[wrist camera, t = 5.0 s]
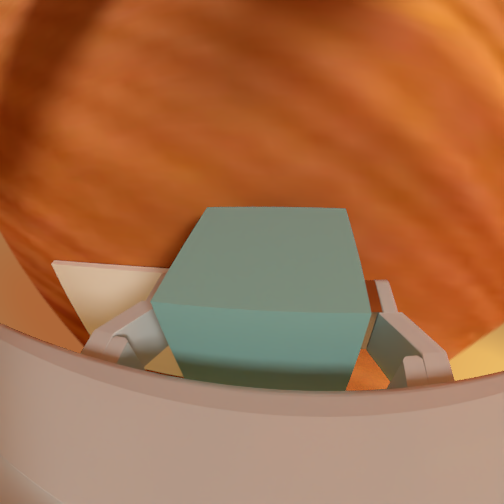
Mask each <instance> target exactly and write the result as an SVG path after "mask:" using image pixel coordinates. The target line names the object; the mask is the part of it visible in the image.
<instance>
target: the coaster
mask: <svg viewBox="0 0 504 504" xmlns="http://www.w3.org/2000/svg"><path fill="white" fill-rule="evenodd" d="M51 264H52V266H53V268H54V271H55V273H56V275H57V277H58V279H59V281H60V283H61V285H62V287H63V289H64V291H65V293H66V294H67V296H68V298H69V300H70V302H71V304H72V306H73V307H74V309H75V311H76V313H77V314H78V316H79V318H80V320H81V321H82V323H83V325H84V326H85V328H86V330H87V331H88V333H89V335H90V336H91V335H92V333H93V332H94V330H95V329H97V328H99V327H100V326H102V325H103V324H105V323H107V322H108V321H110V320H111V319H113V318H115V317H116V316H118V315H119V314H121V313H123V312H124V311H126V310H127V309H129V308H131V307H132V306H134V305H136V304H137V303H139V302H140V301H146V299H147V297H148V296H149V294H150V292H151V291H152V289H153V287H154V286H155V284H156V282H157V281H158V279H159V277H160V276H161V274H163V273H167V272H168V270H169V268H155V267H139V266H124V265H110V264H96V263H83V262H71V261H59V260H54V261H53V262H52V263H51ZM144 369H147V370H151V371H156V372H161V373H165V374H170V375H175V376H181V377H184V376H183V374H182V372H181V370H180V368H179V366H178V364H177V362H176V360H175V358H174V355H173V353H172V351H171V349H170V347H169V345H168V346H167V347H166V348H165V349H164V350H163V351H162V352H161V353H159V354H158V355H157V356H156V357H155V358H154V359H153V360H152V361H150V362H149V363H148V364H147V365H146V366H145V367H144Z"/></svg>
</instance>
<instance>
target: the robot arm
mask: <svg viewBox="0 0 504 504" xmlns="http://www.w3.org/2000/svg"><path fill="white" fill-rule="evenodd" d="M165 275H166V273H163V274H161V276H160V277H159V279H158V281H157V282H156V284H155V286H154V287H153V289H152V291H151V292H150V294H149V296H148V297H147V299H146V301H140V302H139V303H137V304H136V305H134V306H132V307H131V308H129V309H127V310H126V311H124V312H123V313H121V314H119V315H118V316H116V317H115V318H113V319H111V320H110V321H108V322H107V323H105V324H103V325H102V326H100V327H99V328H97V329H95V330H94V332H93V333H92V335H91V336H90V338H89V340H88V341H87V343H86V345H85V346H84V348H83V350H82V351H81V353H77V352H74V351H71V350H68V349H65V348H62V347H59V346H56V345H53V344H51V343H48V342H45V341H42V340H40V339H37V338H34V337H32V336H30V335H27V334H24V333H22V332H20V331H17V330H15V329H12V328H10V327H8V326H6V325H4V324H1V323H0V504H504V371H501V372H497V373H493V374H488V375H484V376H479V377H474V378H469V379H464V380H458V381H454V377H453V374H452V370H451V367H450V363H449V360H448V356H447V353H446V351H445V350H443V349H442V348H441V347H440V346H439V345H438V344H437V343H436V342H435V341H434V340H432V339H431V338H430V337H429V336H428V335H427V334H426V333H425V332H424V331H422V330H421V329H420V328H419V327H418V326H417V325H416V324H415V323H413V322H412V321H411V320H410V319H409V318H408V317H407V316H405V315H404V314H403V313H402V312H398V310H397V307H396V304H395V300H394V297H393V294H392V291H391V287H390V284H389V281H388V280H365V284H366V289H367V293H368V298H369V303H370V308H371V313H372V314H371V317H370V320H369V324H368V327H367V330H366V333H365V336H364V340H363V343H362V346H361V349H367V351H368V353H369V354H370V355H371V357H372V358H373V359H374V360H375V362H376V363H377V364H378V366H379V367H380V368H381V370H382V371H383V372H384V374H385V375H386V376H387V378H388V379H389V381H390V384H389V386H388V387H387V389H380V390H359V391H300V390H279V389H265V388H253V387H243V386H234V385H225V384H217V383H210V382H203V381H197V380H191V379H185V378H179V377H174V376H168V375H163V374H158V373H153V372H149V371H146V370H145V369H144V367H145V366H146V365H147V364H148V363H149V362H150V361H152V360H153V359H154V358H155V357H156V356H157V355H158V354H159V353H161V352H162V351H163V350H164V349H165V348H166V347H167V346H168V345H169V344H168V342H167V340H166V338H165V335H164V333H163V331H162V329H161V326H160V324H159V322H158V319H157V317H156V314H155V312H154V309H153V307H152V304H151V302H150V301H151V299H152V298H153V296H154V294H155V292H156V291H157V289H158V287H159V285H160V284H161V282H162V280H163V279H164V277H165Z"/></svg>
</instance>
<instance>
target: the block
mask: <svg viewBox="0 0 504 504" xmlns="http://www.w3.org/2000/svg"><path fill="white" fill-rule="evenodd" d="M150 302H151V304H152V307H153V309H154V312H155V314H156V317H157V319H158V322H159V324H160V326H161V329H162V331H163V333H164V335H165V338H166V340H167V342H168V344H169V347H170V349H171V351H172V353H173V355H174V358H175V360H176V362H177V364H178V366H179V368H180V370H181V372H182V374H183V376H184V378H185V379H191V380H197V381H203V382H210V383H217V384H225V385H234V386H243V387H253V388H265V389H279V390H300V391H345V390H346V387H347V385H348V382H349V380H350V377H351V374H352V371H353V369H354V366H355V363H356V360H357V357H358V355H359V352H360V349H361V346H362V343H363V340H364V336H365V333H366V330H367V327H368V324H369V320H370V317H371V314H372V313H371V308H370V303H369V298H368V293H367V289H366V284H365V280H364V276H363V271H362V267H361V263H360V259H359V255H358V251H357V247H356V243H355V240H354V236H353V232H352V229H351V225H350V222H349V218H348V215H347V211H346V209H344V208H310V207H207V209H206V210H205V212H204V213H203V215H202V216H201V218H200V220H199V221H198V223H197V224H196V226H195V227H194V229H193V231H192V232H191V234H190V235H189V237H188V239H187V240H186V242H185V244H184V245H183V247H182V248H181V250H180V252H179V253H178V255H177V257H176V258H175V260H174V262H173V263H172V265H171V267H170V268H169V270H168V272H167V273H166V275H165V277H164V279H163V280H162V282H161V284H160V285H159V287H158V289H157V291H156V292H155V294H154V296H153V298H152V299H151V301H150Z"/></svg>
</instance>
